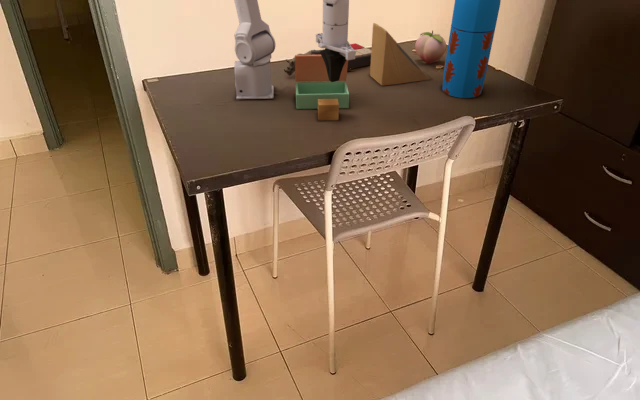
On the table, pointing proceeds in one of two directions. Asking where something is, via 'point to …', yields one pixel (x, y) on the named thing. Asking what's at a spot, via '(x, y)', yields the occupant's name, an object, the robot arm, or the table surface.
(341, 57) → the robot arm
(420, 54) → the decorative fruit
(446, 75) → the thermos
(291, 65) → the rhino figurine
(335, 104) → the block
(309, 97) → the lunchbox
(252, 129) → the table surface
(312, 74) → the lid
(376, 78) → the sandwich container
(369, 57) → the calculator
